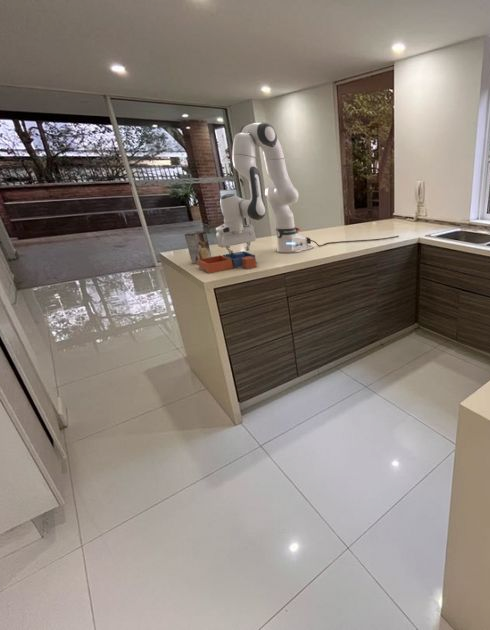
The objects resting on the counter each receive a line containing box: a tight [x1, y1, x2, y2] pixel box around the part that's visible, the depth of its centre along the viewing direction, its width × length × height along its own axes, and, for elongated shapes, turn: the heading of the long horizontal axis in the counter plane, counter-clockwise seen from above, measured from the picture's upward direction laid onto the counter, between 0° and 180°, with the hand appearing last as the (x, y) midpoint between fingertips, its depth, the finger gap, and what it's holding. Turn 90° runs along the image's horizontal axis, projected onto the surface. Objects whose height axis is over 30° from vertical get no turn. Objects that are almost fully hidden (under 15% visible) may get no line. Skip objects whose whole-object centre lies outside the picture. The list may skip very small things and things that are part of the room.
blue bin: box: [221, 250, 257, 269], centre depth 186 cm, size 12×13×5 cm
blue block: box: [232, 251, 245, 259], centre depth 186 cm, size 5×5×5 cm
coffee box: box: [184, 230, 212, 265], centre depth 187 cm, size 9×6×16 cm
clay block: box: [242, 256, 257, 270], centre depth 179 cm, size 5×5×5 cm
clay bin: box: [198, 255, 234, 274], centre depth 177 cm, size 12×13×5 cm
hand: (239, 252), depth 185 cm, fingers open, 8 cm apart
